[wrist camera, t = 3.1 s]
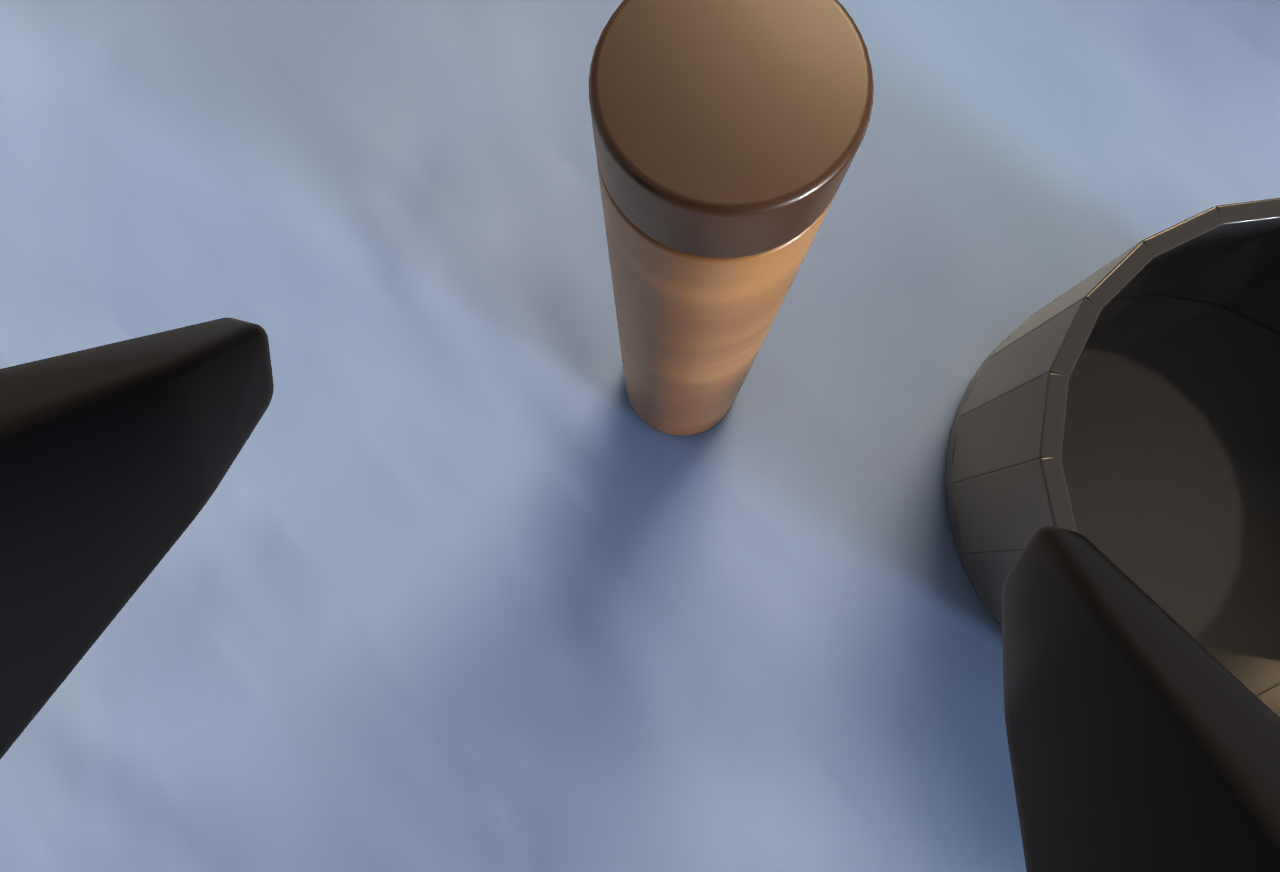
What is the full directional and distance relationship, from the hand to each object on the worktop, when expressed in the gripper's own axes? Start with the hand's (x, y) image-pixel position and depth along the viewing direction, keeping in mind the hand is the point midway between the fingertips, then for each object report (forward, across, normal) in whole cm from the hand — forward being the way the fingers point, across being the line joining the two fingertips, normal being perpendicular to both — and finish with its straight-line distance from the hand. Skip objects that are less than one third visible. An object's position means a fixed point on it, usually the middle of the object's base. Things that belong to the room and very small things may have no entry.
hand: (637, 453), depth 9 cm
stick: (+10, 0, +5) cm, 11 cm away
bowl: (+10, -12, +5) cm, 16 cm away
